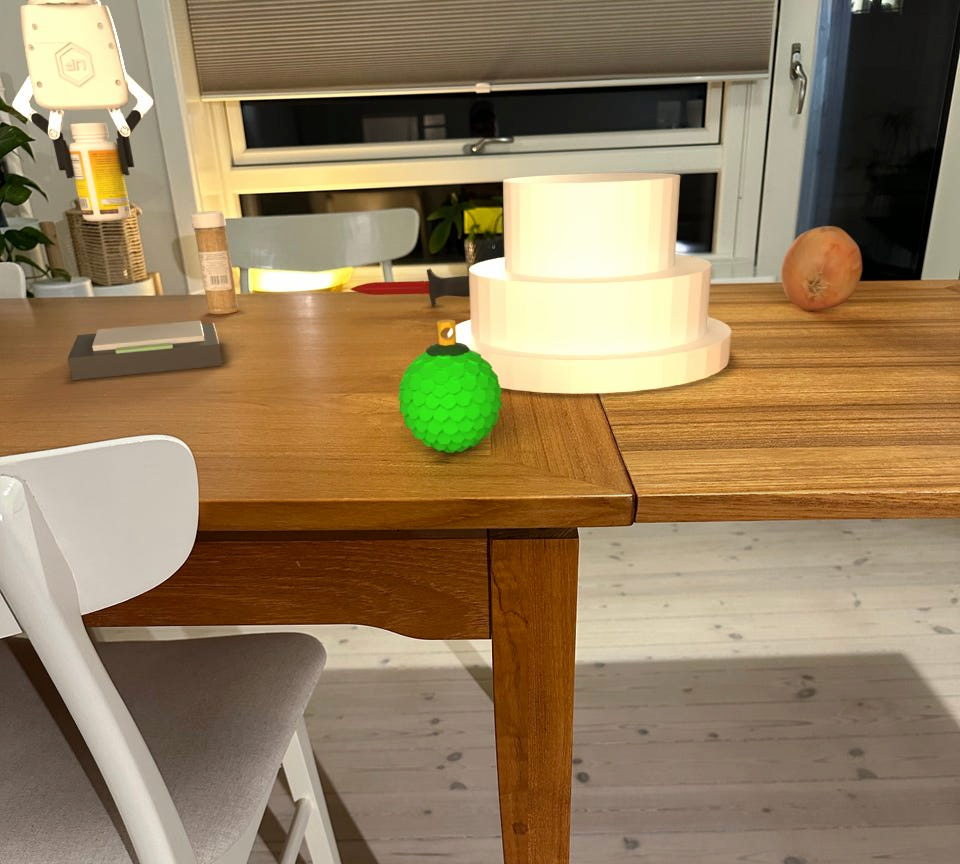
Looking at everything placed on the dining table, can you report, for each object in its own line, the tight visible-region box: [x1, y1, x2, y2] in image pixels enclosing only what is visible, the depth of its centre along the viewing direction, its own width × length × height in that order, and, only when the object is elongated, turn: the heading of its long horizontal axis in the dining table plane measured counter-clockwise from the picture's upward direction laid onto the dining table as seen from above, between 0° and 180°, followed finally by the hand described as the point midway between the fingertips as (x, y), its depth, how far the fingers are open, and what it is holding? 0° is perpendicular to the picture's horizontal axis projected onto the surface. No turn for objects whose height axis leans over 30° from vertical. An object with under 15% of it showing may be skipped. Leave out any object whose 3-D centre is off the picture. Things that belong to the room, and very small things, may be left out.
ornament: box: [397, 319, 503, 453], centre depth 74 cm, size 8×8×10 cm
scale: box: [67, 320, 224, 381], centre depth 111 cm, size 16×14×3 cm
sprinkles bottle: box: [190, 210, 240, 315], centre depth 136 cm, size 5×5×14 cm
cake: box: [447, 172, 732, 395], centre depth 99 cm, size 30×30×18 cm
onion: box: [780, 225, 863, 312], centre depth 121 cm, size 10×10×10 cm
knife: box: [349, 268, 470, 307], centre depth 136 cm, size 24×2×5 cm, turn 84°
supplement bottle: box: [68, 122, 132, 222], centre depth 112 cm, size 6×6×10 cm
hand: (98, 174), depth 112 cm, fingers closed on supplement bottle, 5 cm apart
